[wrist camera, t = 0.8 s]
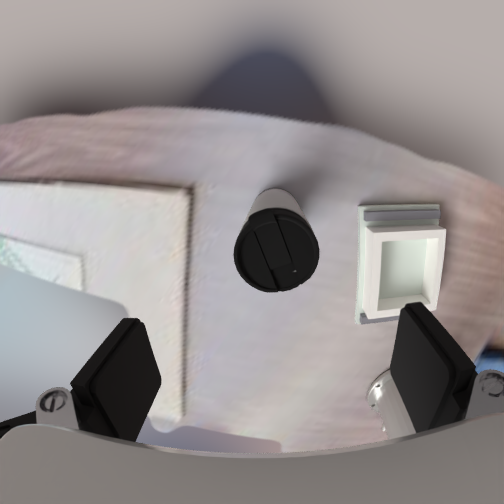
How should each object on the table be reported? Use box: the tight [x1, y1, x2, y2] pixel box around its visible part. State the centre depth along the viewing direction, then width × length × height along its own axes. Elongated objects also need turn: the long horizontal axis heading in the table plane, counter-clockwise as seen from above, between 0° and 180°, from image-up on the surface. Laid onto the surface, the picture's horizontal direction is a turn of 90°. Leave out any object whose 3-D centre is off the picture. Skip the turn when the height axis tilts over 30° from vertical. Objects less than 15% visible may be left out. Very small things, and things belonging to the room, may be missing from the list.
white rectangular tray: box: [355, 204, 446, 324], centre depth 38 cm, size 18×13×4 cm
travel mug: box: [234, 188, 319, 292], centre depth 30 cm, size 6×7×20 cm
